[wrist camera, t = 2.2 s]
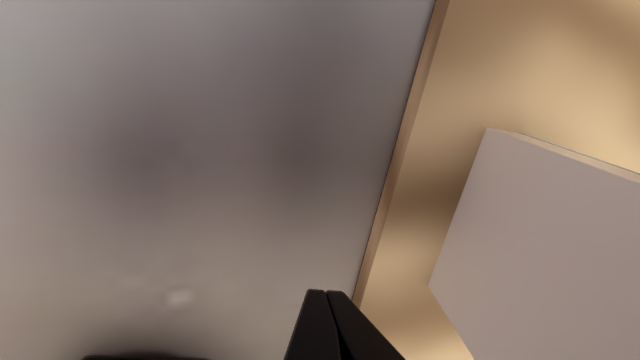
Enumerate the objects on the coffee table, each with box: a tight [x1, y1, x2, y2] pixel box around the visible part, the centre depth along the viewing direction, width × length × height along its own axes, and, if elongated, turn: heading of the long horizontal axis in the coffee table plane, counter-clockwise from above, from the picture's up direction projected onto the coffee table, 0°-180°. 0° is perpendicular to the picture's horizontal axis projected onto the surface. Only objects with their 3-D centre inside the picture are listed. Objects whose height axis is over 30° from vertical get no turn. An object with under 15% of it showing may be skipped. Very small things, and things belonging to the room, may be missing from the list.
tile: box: [428, 127, 640, 360], centre depth 11 cm, size 8×2×9 cm, turn 169°
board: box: [352, 0, 640, 360], centre depth 16 cm, size 20×16×1 cm
